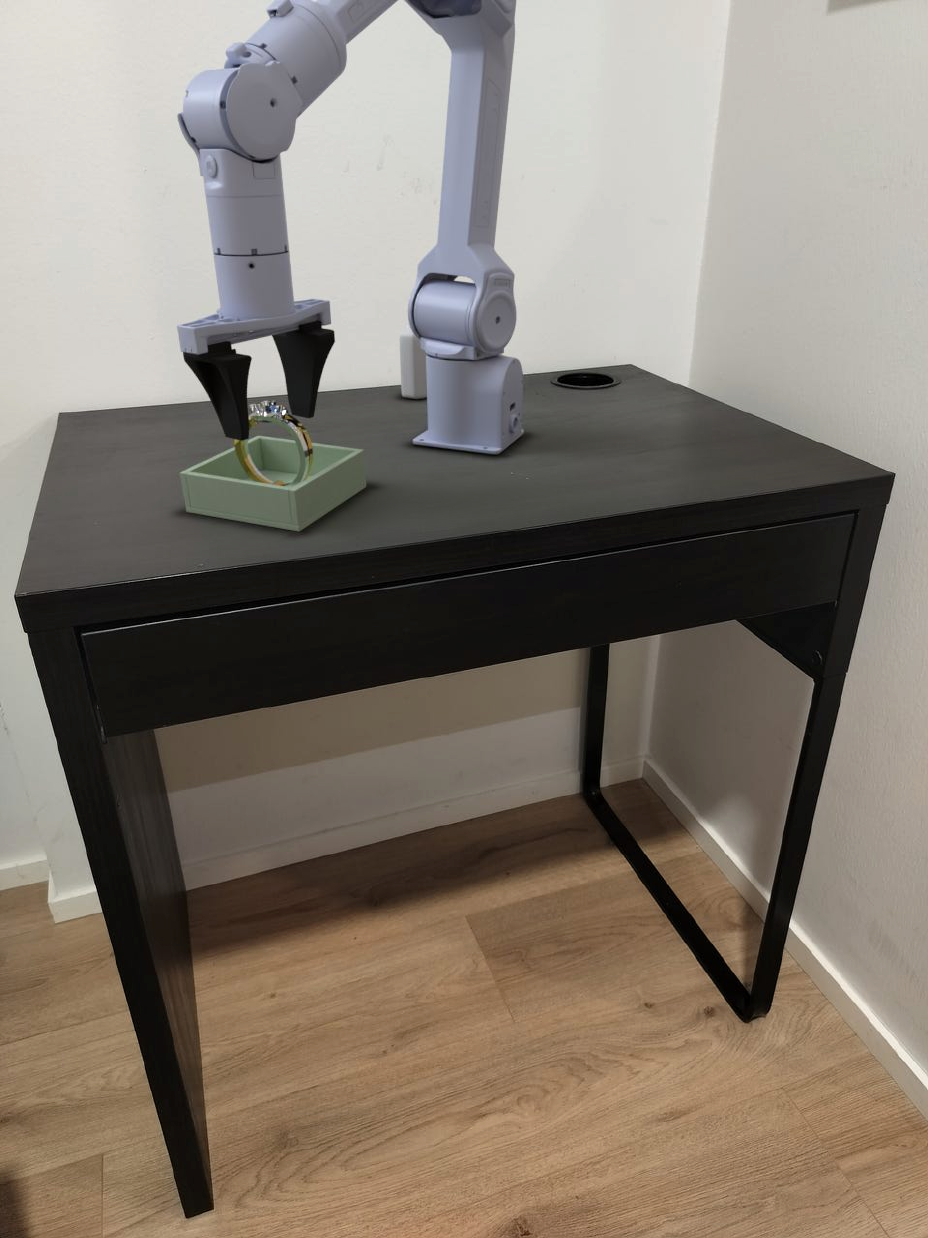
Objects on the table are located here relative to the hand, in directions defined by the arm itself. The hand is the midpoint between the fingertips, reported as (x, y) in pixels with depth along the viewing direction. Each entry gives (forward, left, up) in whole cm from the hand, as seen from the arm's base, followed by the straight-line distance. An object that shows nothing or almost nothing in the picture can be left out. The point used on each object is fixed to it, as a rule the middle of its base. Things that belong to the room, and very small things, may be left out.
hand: (271, 426), depth 74 cm
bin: (0, 0, -6) cm, 6 cm away
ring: (0, 0, -6) cm, 6 cm away
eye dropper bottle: (+4, -37, -7) cm, 38 cm away
